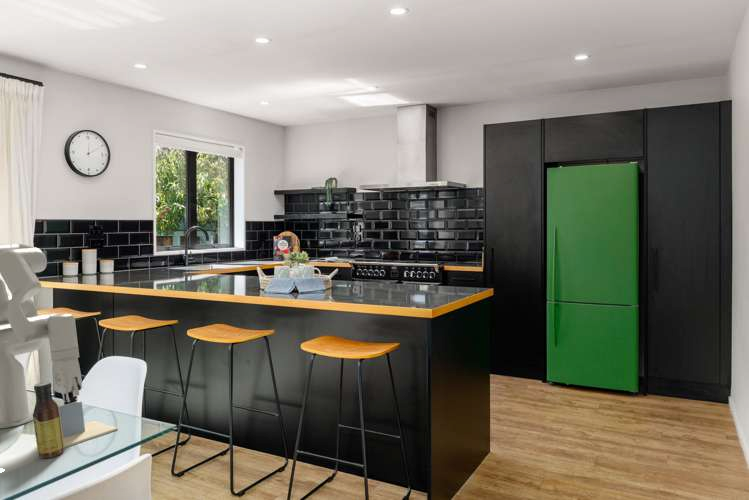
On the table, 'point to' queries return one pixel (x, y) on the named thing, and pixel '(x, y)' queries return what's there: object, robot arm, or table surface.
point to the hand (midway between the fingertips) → (72, 413)
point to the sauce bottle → (47, 422)
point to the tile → (71, 418)
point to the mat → (88, 433)
